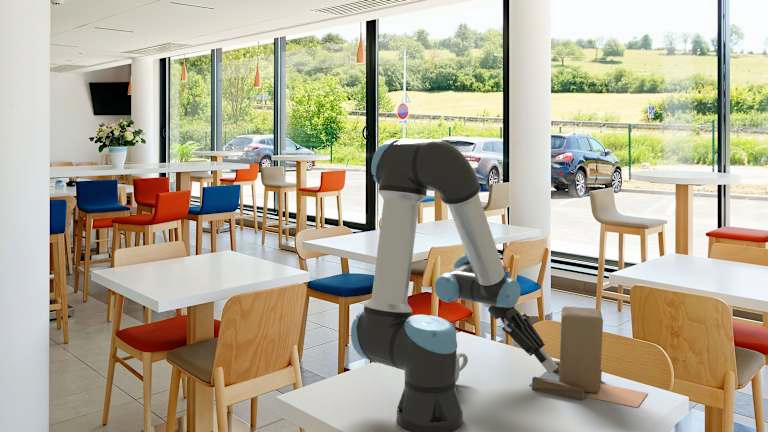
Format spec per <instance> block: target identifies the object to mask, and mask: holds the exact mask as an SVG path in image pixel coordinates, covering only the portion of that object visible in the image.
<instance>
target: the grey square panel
mask: <svg viewBox="0 0 768 432" xmlns="http://www.w3.org/2000/svg"><path fill="white" fill-rule="evenodd" d="M538 377H539V378H543V379H548V380H553V381H558V382H559V374H558V373H553V372H551V373H550V374H549V373H548V372H547V370H545V372H544V373H542V375H540V376H538ZM600 383H601V384H602V382H601V381H600ZM528 387H532V382H531V383H530V384H529V385H528ZM590 394H591V393H589V392H584V399H587V398H589V397H588V396H589V395H590Z"/></svg>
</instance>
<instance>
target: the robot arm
mask: <svg viewBox="0 0 768 432" xmlns="http://www.w3.org/2000/svg"><path fill="white" fill-rule="evenodd" d="M370 168H371V170H370V171H371V175H373V176H372V177H373V180H374V182H375V183H376V184H378V191H377V192H378V193H379V195H380V196H381V197H382V199H383V203H382V209H381V211H382V212H381V220H380V227H379V234H378V241H377V242H378V243H377V252H376V258H375V259H376V260H375V267H374V268H375V269H374V277H373V284H372V285H373V286H372V292H371V298H370V299H369V300H368V301H366V302H365V303H364V306H363V310H361V311H360V312H358V313H357V314H356V316H355V319H353V321H352V324H351V329H350V339H351V340H350V341H351V345H352V346H353V349H354V350H355V351H356V352H355V353H357V354H358V355H359V356H360V357H361V358H363V359H366V360H368V361H370V362H372V363H375V364H376V363H377V364H382V365H384V366H388V367H391V368H395V369H399V370H402V371H404V388H403V389H402V390H403V391H402V393H401V395H400V399H399V401H398V404H397V408H396V422H397V424H398V425H400V426H401V427H402V428H404V429H405V430H407V431H409V432H453V431H455V430H457V429H459V428H460V427H461V426H462V425H463V423H464V421H463V420H464V417H463V416H464V415H463V409H462V405H461V403H460V398H459V395H458V392H457V388H456V386H457V382H456V354H457V349H458V341H457V330H456V327H455V326H454V324H453V323H451V322H450V321H448V320H447V319H445V318H444V317H443V318H442V317H440V316H436V315H431V314H430V315H427V314H414V315H413V308H411V306H410V305H409V303H408V299H409V298H408V297H409V288H410V280H411V272H412V266H413V265H412V263H413V254H414V247H415V240H416V230H417V224H418V223H417V222H418V215H419V205H420V203H421V202H423V201H424V200H426V198H427V194H428V193H427V192H428V190H434V191H435V192H437V194H438V195H439V197H440V200H441V202H442V203H444V205H448V208H449V211H450V214H451V216H452V219H453V222H454V224H455V227H456V230H457V232H458V235H459V237H460V240H461V243H462V245H463V246H462V247H463V249H464V251H465V254H463V255H462V256H460V257H458V259H457V260H456V261H455V262H454V264H453V269H451V270H449V271H446V272H444V273H443V274H441V275H440V276H438V277H437V278H436V279H435V282H434V286H433V287H434V292H435V295H436V296H437V297H438V298H439V300H441V301H442V302H444V303H452V302H455V301H457V300H463V301H468V302H473V303H479V304H482V305H483V307H484V308H488V309H487V311H488V312H489V314H490V315H491V316H492V318H493V319H494V320H498V319H500V320H501V323H502V324H504V326H503V327H502V329H501V330H502V331H503V332H504V333H506V334H507V335H508V336H510V338H511V339H513V341H514V342H516V344H518V345H519V346H520V347H521V348H522V350H523V351H524V352H525V353H526V354H527V355H529V356H532V355H534V357H535V358H536V359H537V360H538V362H539V363H540V364H541V365H542V367H543V368H544V369H545V371H547V372H548V373H549V374H550V373H551V372H553V371H554V370H555V369H557V368H558V366H557V364H556V363H555V362H554V360H553V358H552V357H551V355H549V353H548V352H547V351H546V350H545V349H544V346H545V342H544V341H543V339H542V338H541V336H540V335H539V333H538V332H537V330H536V329H535V326H533V324H532V323H531V321H530V319H529V317H528V315H527V314H526V313H523V314H521V313H520V312H519V311H518V310H517V309H516V308H515V306H516V304H517V303H518V302H519V300H520V295H521V286H520V283H519V281H518V280H516V279H514V278H512V277H508V276H507V275H506V271H505V269H504V267H503V264H502V260H501V258H500V254H499V251H498V249H497V245H496V243H495V240H494V237H493V233H492V231H491V227H490V225H489V221H488V219H487V215H486V213H485V210H484V207H483V204H482V202H481V198H480V195H479V193H480V192H481V185H480V182H479V179H478V176H477V173H476V172H475V170H474V168H473V166H472V165H471V163H470V162H469V160H468V159H467V158H466V156H464V154H463V153H462V152H461V151H460V150H459V149H458V148H457V147H455V146H454V145H453V144H451V143H449V142H447V141H445V140H443V139H439V138H430V139H429V138H427V139H426V138H425V139H424V138H423V139H422V138H402V137H401V138H398V139H388V140H386V141H384V142H382V144H381V145H380V146H378V147H377V149H376V150H375V152H374V155H373V158H372V160H371V167H370Z"/></svg>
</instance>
